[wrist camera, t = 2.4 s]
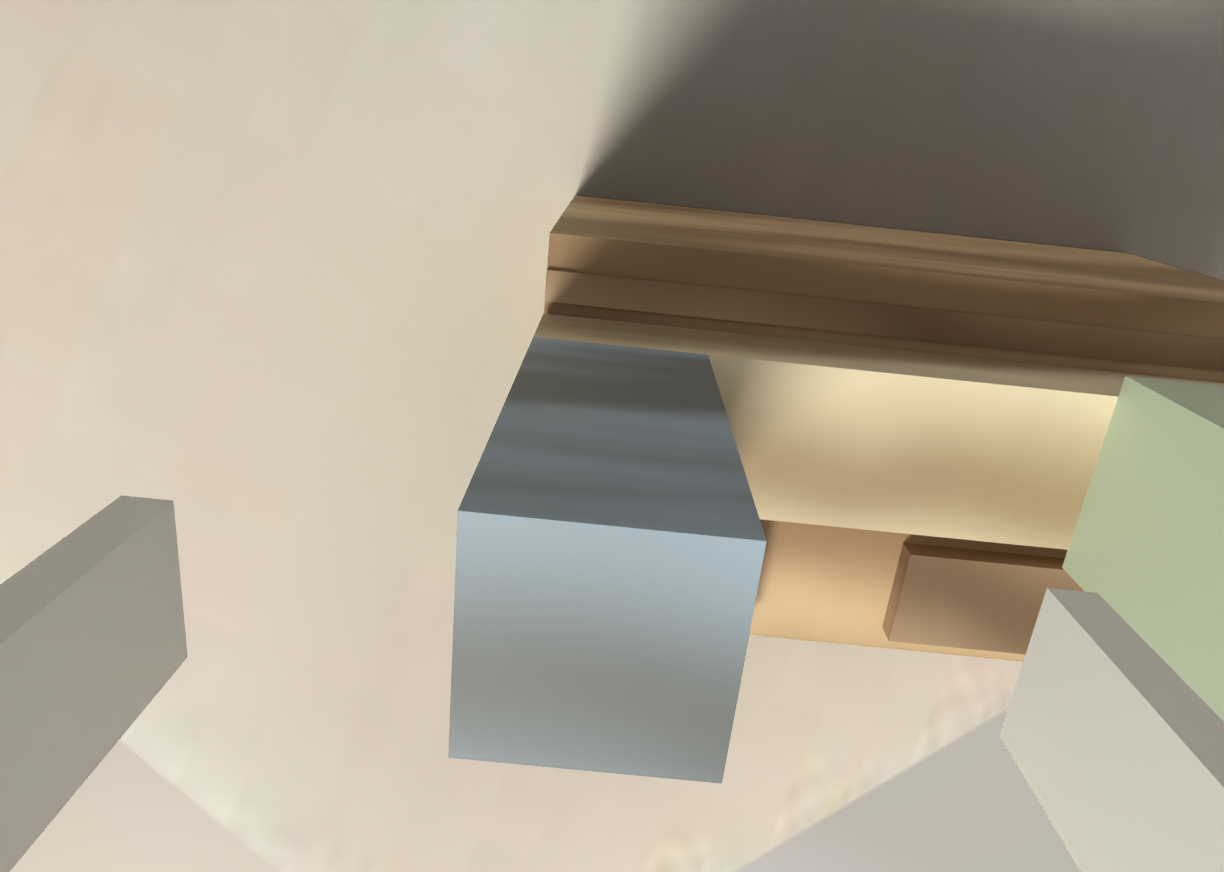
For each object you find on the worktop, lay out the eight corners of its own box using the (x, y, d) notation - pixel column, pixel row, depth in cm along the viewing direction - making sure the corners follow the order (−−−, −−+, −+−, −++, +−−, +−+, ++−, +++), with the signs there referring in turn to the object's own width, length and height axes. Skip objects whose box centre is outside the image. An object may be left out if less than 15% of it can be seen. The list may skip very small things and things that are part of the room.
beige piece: (543, 313, 22) (457, 510, 11) (1317, 392, 22) (1967, 660, 11) (533, 458, 23) (448, 757, 12) (1259, 530, 23) (1789, 883, 13)
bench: (575, 195, 30) (547, 236, 20) (1126, 253, 31) (1366, 321, 21) (552, 476, 34) (519, 626, 24) (1041, 524, 35) (1208, 693, 25)
